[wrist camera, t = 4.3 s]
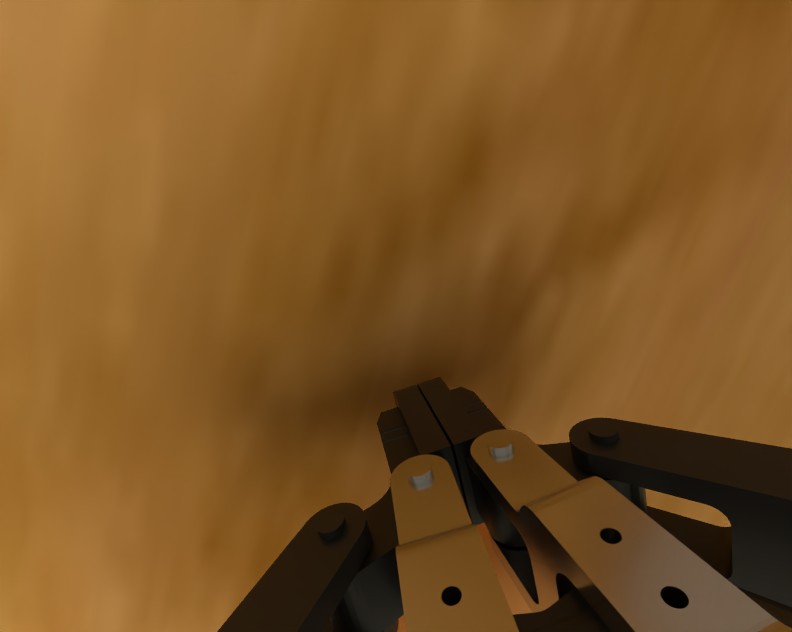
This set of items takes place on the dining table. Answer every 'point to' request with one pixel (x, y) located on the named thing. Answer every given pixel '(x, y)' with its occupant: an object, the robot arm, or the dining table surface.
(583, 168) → the dining table surface
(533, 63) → the dining table surface
